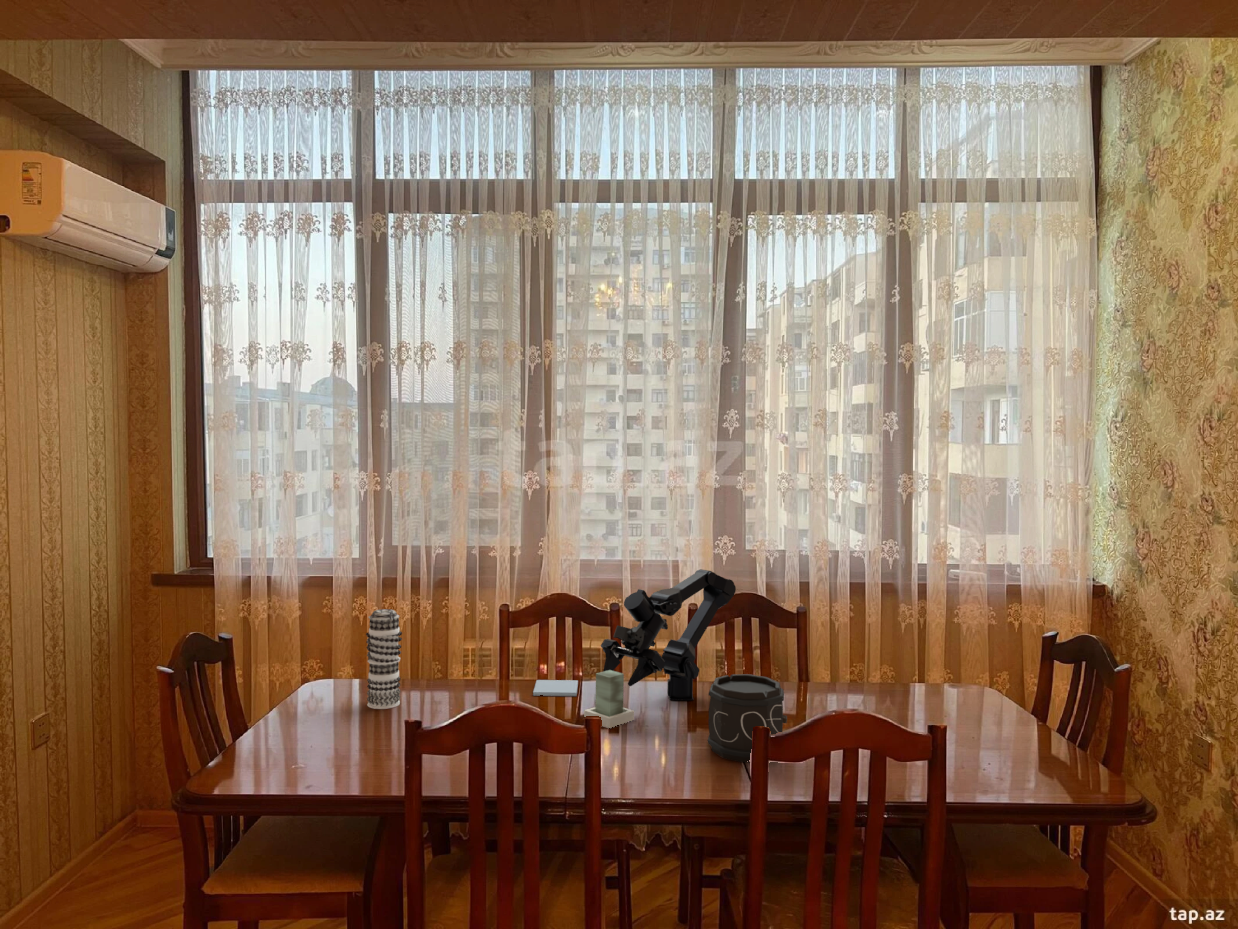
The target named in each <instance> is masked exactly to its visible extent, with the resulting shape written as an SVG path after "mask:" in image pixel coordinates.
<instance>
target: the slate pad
mask: <svg viewBox="0 0 1238 929" xmlns="http://www.w3.org/2000/svg"><path fill="white" fill-rule="evenodd" d="M578 686H579V680H573V679H571V680H569V679H568V680H567V679H561V680H560V679H559V680H557V679H536V681H535V684H534V688H533V691H532V693H533V694H532V696H533V697H534V696H535V697H537V696H539V697H541V696H540V695H543V696H542V697H578V696H577V694H578Z"/></svg>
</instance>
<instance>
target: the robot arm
mask: <svg viewBox="0 0 1238 929" xmlns="http://www.w3.org/2000/svg"><path fill="white" fill-rule="evenodd" d="M701 590H702V594H703V600H702V602H701V603H700V605H699V607H698V608H697V609H696V611H695V613H694V615H693V616H692V618H691V619H690V621H689V623H688V625H687V626H686V627H685V630H684V631H683V633H682V635H681V636H680V638H679V639H670V640H668V642H667V645H666V646H665V648H664V649H662V650H663V653H662V655H661V654H660V652H658V651H657V650H656V649H655V650H654V649H652V648H654V647H655V645H656V642H655V640H656V638H657V637H658V635H659V633H660V631H661V629H662V630H668V628H669V626H668V620H667V619H666V618H663V617H662V616H668V617H673V616H674V615H675V614H676V613H677V612H679V610H681V608H682V605H683V603H684V602H686V601H687V600H688V599H690V598H691V597H693V596H695V594H697V593H699V592H700V591H701ZM736 590H737V588H736V585H735V582H734V581H733V579H730V578H725V577H723V576H720V575H719V574H717V573H715V572H714V571H712V570H707V569H698V570H696V571H695V572H694V573H693V574H691V575H690V576H689V577H686V578H685V579H684V580H682V581H680V582H679V583H677V584H676V585H675V586H673V587H671V588H664V589H660V590H657V591H655V592H653V593H652V594H651V595H650V596H648V594H647V592H646V590H645V589H642V588H641V589H640V588H638V589H637V591H635V592H633V593H631V594H629V595H627V597H625V599H624V601H623V606H624V608H625V610H627V612H628V613H629V614H630V616H631V617H632V619H633V620H634V621H635V622H638V624H637V626H633V627H632V628H629V627H626V626H622V625H616V628H615V631H614V634H613V638H615V639H618V640H619V641H620V643H621V644H620V643H619V642H618V641H617V640H614V639H611V638H606V639H603V641H602V642H601V644H600V647H601V649H602V651H603V652H604V654H605V660H604V661H605V662H604V665H603V669H602V672H604V671H608V670H612V671H615V669H616V668H617V667H618V666H619V665H620V664H621V662H622V661H620V660H622V659H623V658H624V657H628V658H632V659H635V660H637V665H636V667H635V669H634V671H633V673H632V674H631V676H630V678H629V680H628V682H627V685H628V686H629V687H632V686H634V685H635V684H637V683H638V682H640V681H641V680H643V679H645V678H647V677H648V676H650V675H653V674H657V672H660V673H661V672H662V671H663V674H666V675H669V678H668V679H667V680H666V682H667V683H666V684H667V685H666V694H667V696H668V698H669V700H670V701H694V697H693V694H694V693H693V690H694V689H693V688H694V687H693V686H694V685H693V684H694V680H695V679H696V678H698V677H699V674H700V668H699V667H698V665H697V664H696V663H695V660H696V647H697V645H698V644H699V642H700V641H701V639H702V637H703V635H704V634H705V632H706V631H707V629H708V627H709V626H710V624H711V622H712V621H713V618H714V617H715V615H716V613H717V612H718V610H719V609H721V608H722V607H724V606H726V605H727V604H728V603H729V602H730V601H731V600H732V599H733V597H734V596H735V593H736ZM661 615H662V616H661ZM621 645H623V646H624V647H622V646H621ZM651 647H652V648H651ZM650 648H651V649H650Z"/></svg>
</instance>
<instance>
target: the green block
mask: <svg viewBox="0 0 1238 929" xmlns="http://www.w3.org/2000/svg"><path fill="white" fill-rule="evenodd" d="M624 676H625V675H624V673H623V672H619V671H615V670H613V671H612V670H608V671H604V672H603V671H601V672H597V673H595V706H594V707H595V712H596V713H599V714H602V715H605V716H608V717H610V716H614V715H617V714H620V713H623V707H624V682H625V681H624V678H625V677H624Z"/></svg>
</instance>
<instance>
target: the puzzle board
mask: <svg viewBox="0 0 1238 929" xmlns="http://www.w3.org/2000/svg"><path fill="white" fill-rule="evenodd" d="M583 715H584V716H583V717H586V716H599V717H601V720H602V726H601V727H603V728H607V729H609V728H610V729H612V727H613V728H615V726H616V727H618V726H617V725H619V726H621V725H620V724H622V725H625V724H627V722H628V721H631V722H633V721H632V720H634V721H635V710H632V709H630V708H627V707H624V706H623V713H620V714H617V715H614V716H610V717H608V716H605V715H602V714H599V713H596V712H595V706H594V707H591V708H587V709H584V711H583ZM624 723H625V724H624ZM628 723H629V722H628Z"/></svg>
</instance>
